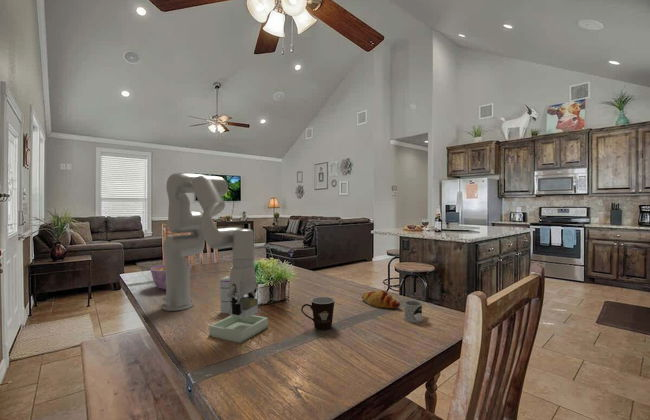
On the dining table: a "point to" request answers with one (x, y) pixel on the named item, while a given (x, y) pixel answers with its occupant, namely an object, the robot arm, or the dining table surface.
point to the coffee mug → (321, 312)
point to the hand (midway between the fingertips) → (243, 310)
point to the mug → (413, 311)
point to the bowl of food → (160, 276)
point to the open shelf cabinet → (246, 307)
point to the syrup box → (225, 294)
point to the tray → (238, 328)
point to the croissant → (380, 299)
